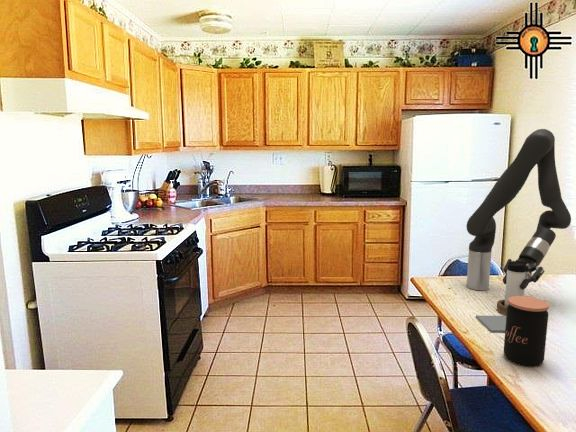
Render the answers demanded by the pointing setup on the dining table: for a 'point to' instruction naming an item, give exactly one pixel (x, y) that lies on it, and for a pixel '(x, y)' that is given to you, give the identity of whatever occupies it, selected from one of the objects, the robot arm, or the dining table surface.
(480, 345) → the dining table surface
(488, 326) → the slate mat
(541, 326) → the coffee jar
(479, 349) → the dining table surface
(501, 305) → the ring
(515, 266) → the travel mug
